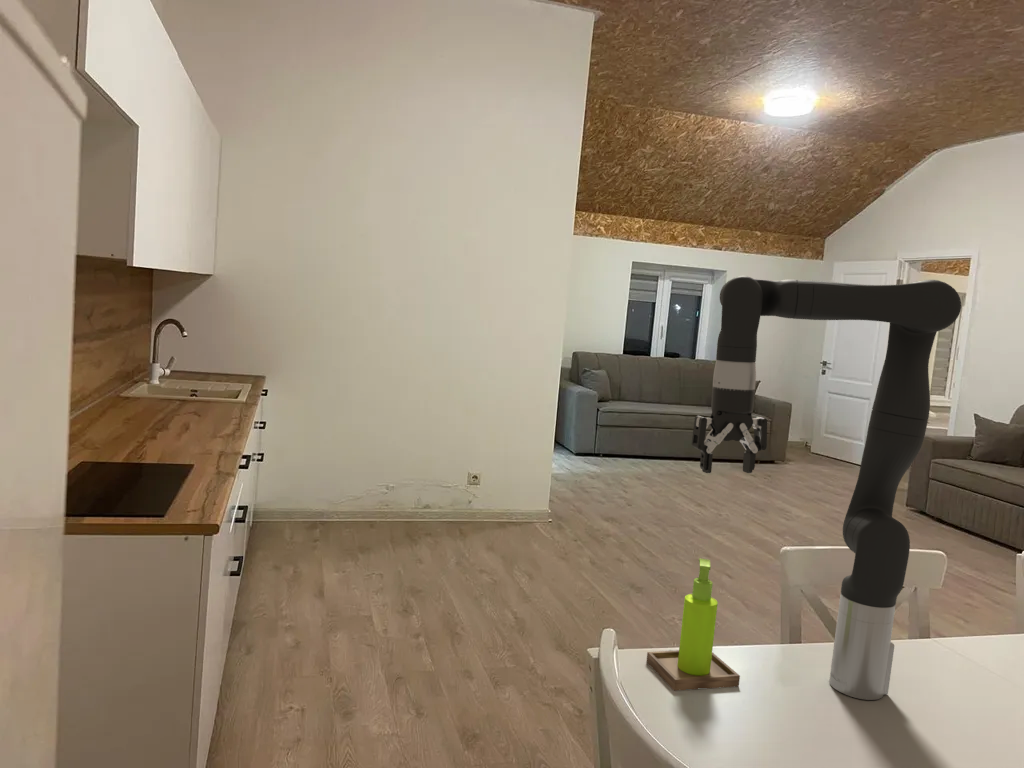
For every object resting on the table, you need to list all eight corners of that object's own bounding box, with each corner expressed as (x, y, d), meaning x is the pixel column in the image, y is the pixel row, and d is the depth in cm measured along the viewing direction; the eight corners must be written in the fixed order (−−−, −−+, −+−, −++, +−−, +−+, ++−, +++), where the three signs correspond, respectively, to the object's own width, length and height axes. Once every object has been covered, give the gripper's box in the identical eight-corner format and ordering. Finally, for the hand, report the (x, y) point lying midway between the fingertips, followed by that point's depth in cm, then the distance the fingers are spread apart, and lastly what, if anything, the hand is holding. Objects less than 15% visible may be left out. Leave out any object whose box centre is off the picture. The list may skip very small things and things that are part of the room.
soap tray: (707, 658, 152) (708, 648, 152) (738, 686, 142) (739, 675, 142) (646, 662, 149) (647, 651, 148) (674, 690, 138) (675, 679, 138)
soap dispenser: (709, 661, 148) (720, 558, 146) (710, 678, 141) (722, 570, 140) (677, 656, 149) (688, 554, 147) (677, 672, 143) (688, 565, 141)
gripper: (709, 387, 139) (702, 477, 141) (779, 388, 143) (772, 476, 144) (689, 382, 146) (682, 468, 148) (756, 384, 150) (749, 468, 152)
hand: (727, 472), depth 146 cm, fingers open, 8 cm apart
